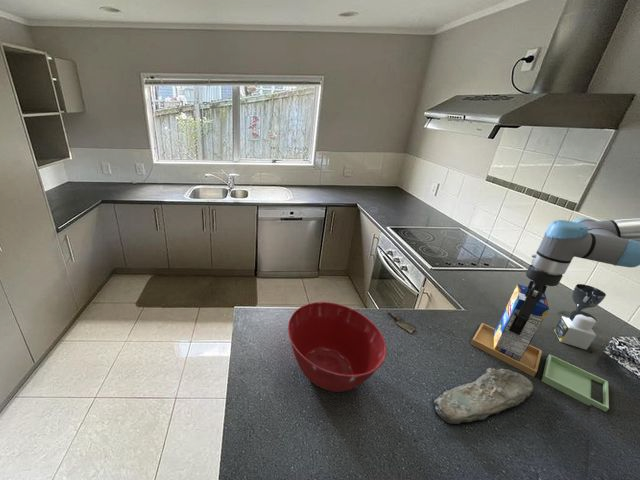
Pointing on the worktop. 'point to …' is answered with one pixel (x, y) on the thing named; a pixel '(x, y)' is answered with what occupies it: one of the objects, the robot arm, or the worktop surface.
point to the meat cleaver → (401, 323)
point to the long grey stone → (483, 396)
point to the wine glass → (586, 297)
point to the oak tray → (486, 343)
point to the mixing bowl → (335, 345)
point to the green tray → (573, 381)
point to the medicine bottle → (576, 329)
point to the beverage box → (519, 343)
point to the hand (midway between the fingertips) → (517, 324)
